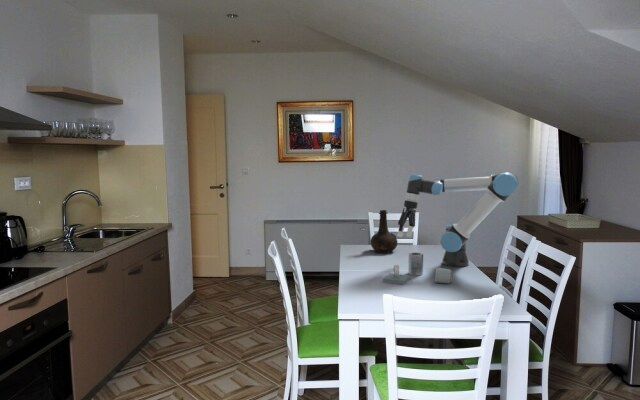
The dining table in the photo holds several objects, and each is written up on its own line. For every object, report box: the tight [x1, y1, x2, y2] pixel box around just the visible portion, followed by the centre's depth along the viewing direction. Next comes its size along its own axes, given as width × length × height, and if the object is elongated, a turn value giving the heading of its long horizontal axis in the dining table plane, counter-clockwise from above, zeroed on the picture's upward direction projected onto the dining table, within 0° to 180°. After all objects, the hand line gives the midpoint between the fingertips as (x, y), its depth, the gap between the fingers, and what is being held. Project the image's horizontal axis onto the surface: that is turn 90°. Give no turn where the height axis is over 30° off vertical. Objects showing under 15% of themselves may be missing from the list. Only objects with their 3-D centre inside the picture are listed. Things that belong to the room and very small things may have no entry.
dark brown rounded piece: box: [369, 209, 398, 254], centre depth 304 cm, size 18×18×28 cm
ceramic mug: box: [434, 267, 453, 284], centre depth 232 cm, size 11×8×8 cm
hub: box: [408, 251, 424, 276], centre depth 249 cm, size 7×7×11 cm
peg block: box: [382, 264, 411, 286], centre depth 235 cm, size 11×11×8 cm
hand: (404, 236), depth 264 cm, fingers open, 13 cm apart
